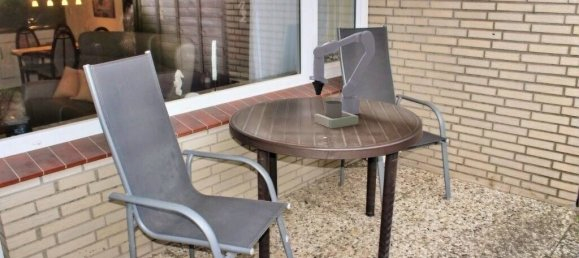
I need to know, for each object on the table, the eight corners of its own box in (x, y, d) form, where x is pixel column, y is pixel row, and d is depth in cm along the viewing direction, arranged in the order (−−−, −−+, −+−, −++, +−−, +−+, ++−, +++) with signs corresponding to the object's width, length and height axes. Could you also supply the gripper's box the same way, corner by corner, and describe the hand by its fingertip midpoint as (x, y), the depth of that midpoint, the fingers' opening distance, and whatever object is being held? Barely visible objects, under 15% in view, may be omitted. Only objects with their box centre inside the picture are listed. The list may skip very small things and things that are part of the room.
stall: (340, 117, 246) (340, 110, 245) (358, 124, 235) (358, 116, 234) (314, 122, 238) (314, 114, 237) (331, 128, 227) (331, 120, 226)
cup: (340, 124, 233) (340, 104, 231) (323, 123, 235) (323, 103, 233) (342, 120, 241) (342, 100, 239) (326, 119, 243) (326, 100, 241)
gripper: (304, 68, 256) (304, 93, 259) (320, 71, 244) (319, 98, 247) (315, 67, 259) (315, 92, 263) (331, 70, 247) (331, 96, 251)
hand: (318, 95), depth 255 cm, fingers closed
